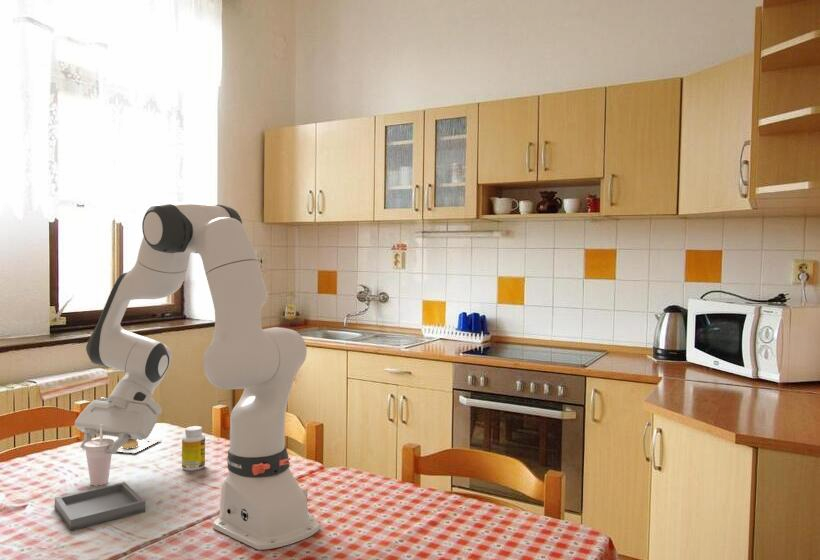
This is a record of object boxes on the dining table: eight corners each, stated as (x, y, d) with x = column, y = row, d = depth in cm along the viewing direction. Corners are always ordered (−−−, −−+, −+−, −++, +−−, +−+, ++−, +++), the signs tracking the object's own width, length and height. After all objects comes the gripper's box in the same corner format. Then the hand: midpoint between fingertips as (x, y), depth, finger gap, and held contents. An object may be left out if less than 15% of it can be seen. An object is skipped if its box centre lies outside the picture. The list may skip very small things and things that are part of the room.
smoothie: (101, 489, 137) (101, 429, 136) (77, 486, 138) (77, 427, 137) (120, 479, 143) (120, 421, 142) (97, 476, 144) (96, 419, 144)
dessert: (125, 440, 174) (125, 424, 174) (162, 443, 172) (162, 427, 172) (96, 453, 163) (96, 436, 162) (135, 457, 160) (135, 439, 160)
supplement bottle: (203, 470, 149) (203, 430, 149) (180, 472, 148) (180, 431, 148) (206, 463, 155) (206, 424, 154) (183, 464, 154) (183, 425, 153)
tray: (145, 511, 125) (145, 501, 125) (70, 531, 116) (70, 520, 116) (124, 491, 136) (124, 481, 136) (54, 507, 126) (54, 497, 126)
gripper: (88, 389, 149) (54, 439, 141) (155, 396, 143) (124, 449, 134) (102, 403, 154) (71, 452, 145) (167, 410, 148) (138, 462, 139)
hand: (97, 450), depth 140 cm, fingers closed on smoothie, 6 cm apart
